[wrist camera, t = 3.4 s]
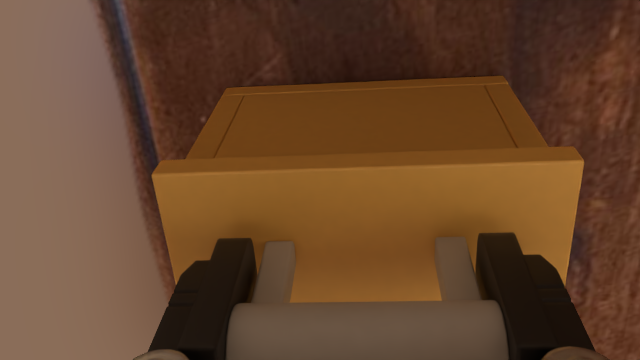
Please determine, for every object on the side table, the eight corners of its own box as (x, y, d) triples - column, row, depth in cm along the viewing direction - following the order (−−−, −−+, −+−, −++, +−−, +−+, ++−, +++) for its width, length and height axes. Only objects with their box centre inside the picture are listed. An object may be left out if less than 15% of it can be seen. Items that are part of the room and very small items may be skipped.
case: (225, 87, 21) (167, 187, 15) (503, 75, 20) (569, 175, 14) (265, 353, 27) (235, 507, 21) (481, 352, 26) (520, 511, 20)
